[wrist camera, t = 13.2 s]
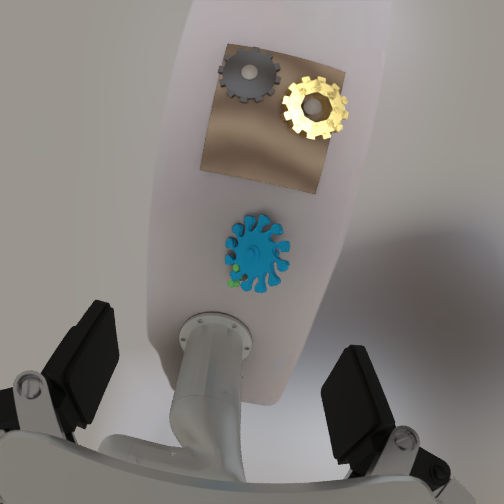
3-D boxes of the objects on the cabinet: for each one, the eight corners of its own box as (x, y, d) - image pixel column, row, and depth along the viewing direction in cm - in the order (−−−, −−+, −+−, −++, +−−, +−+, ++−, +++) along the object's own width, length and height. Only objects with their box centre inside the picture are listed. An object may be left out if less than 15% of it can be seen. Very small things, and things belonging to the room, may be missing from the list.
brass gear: (345, 129, 31) (356, 130, 27) (291, 145, 32) (296, 147, 29) (326, 75, 28) (335, 70, 25) (270, 91, 29) (273, 86, 26)
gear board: (313, 192, 36) (321, 201, 32) (201, 168, 34) (194, 174, 30) (342, 73, 29) (355, 67, 25) (227, 46, 27) (224, 34, 23)
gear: (253, 197, 35) (300, 258, 30) (279, 204, 39) (322, 258, 35) (207, 255, 40) (241, 313, 35) (234, 255, 44) (268, 307, 40)
